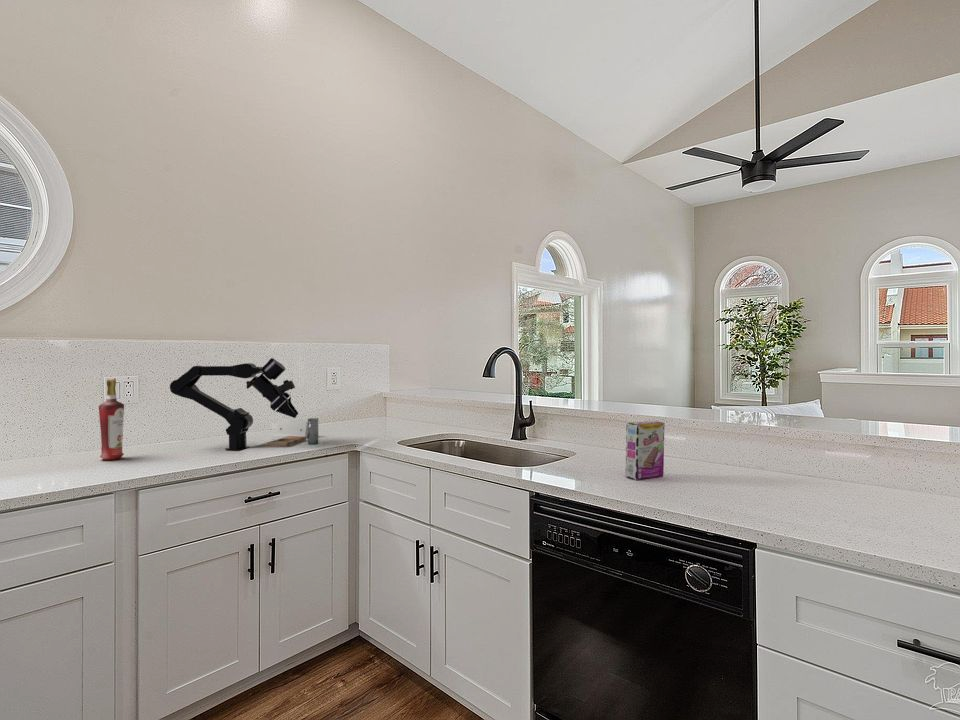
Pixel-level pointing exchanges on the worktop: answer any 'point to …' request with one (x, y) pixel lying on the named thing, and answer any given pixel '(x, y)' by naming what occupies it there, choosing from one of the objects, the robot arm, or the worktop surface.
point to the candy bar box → (644, 450)
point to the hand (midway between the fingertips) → (296, 415)
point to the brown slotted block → (286, 441)
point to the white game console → (291, 428)
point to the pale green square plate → (313, 445)
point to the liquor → (111, 424)
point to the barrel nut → (312, 431)
